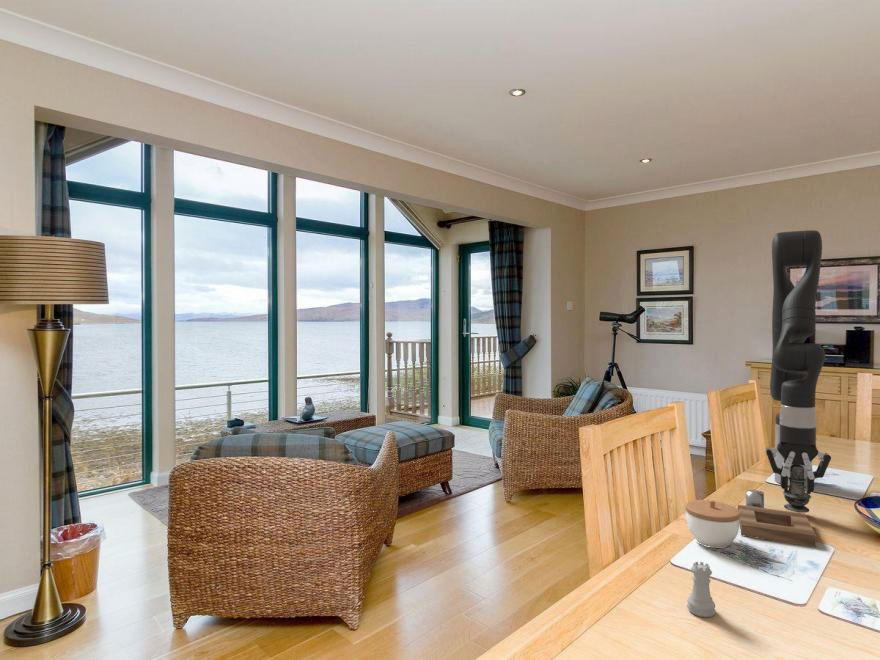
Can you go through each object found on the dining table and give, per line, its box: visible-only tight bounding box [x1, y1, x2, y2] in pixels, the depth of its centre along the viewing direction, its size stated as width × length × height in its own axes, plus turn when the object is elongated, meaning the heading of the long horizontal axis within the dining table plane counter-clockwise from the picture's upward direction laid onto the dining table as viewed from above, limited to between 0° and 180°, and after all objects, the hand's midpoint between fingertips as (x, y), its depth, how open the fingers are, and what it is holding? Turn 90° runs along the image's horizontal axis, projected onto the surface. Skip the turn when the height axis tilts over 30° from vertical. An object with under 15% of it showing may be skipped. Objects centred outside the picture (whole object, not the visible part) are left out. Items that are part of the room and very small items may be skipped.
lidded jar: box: [685, 499, 740, 549], centre depth 118 cm, size 11×11×9 cm
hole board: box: [737, 504, 817, 548], centre depth 125 cm, size 14×14×2 cm
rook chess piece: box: [686, 561, 716, 618], centre depth 91 cm, size 4×4×8 cm
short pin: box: [745, 489, 765, 508], centre depth 136 cm, size 4×4×5 cm
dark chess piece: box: [782, 464, 812, 514], centre depth 133 cm, size 6×6×12 cm
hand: (796, 491), depth 133 cm, fingers closed on dark chess piece, 4 cm apart
